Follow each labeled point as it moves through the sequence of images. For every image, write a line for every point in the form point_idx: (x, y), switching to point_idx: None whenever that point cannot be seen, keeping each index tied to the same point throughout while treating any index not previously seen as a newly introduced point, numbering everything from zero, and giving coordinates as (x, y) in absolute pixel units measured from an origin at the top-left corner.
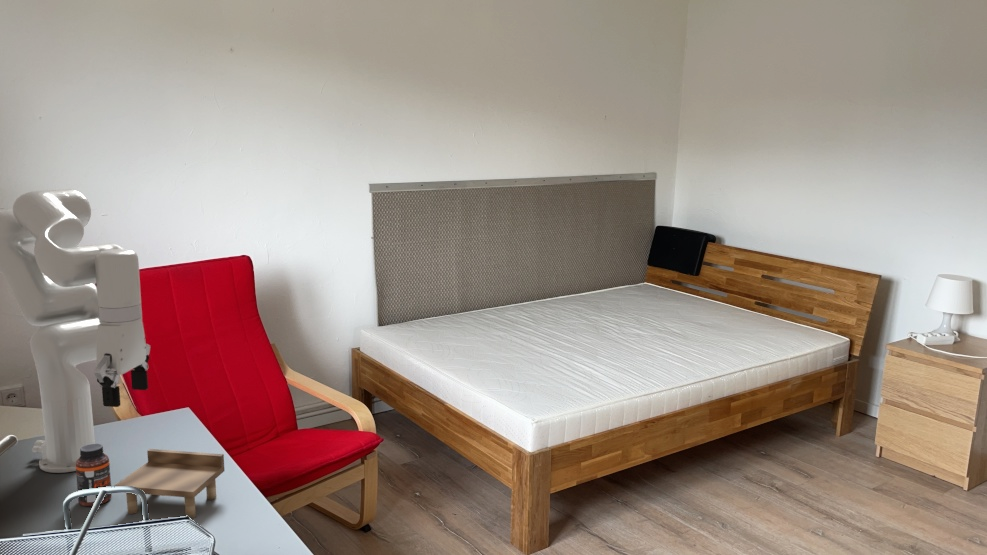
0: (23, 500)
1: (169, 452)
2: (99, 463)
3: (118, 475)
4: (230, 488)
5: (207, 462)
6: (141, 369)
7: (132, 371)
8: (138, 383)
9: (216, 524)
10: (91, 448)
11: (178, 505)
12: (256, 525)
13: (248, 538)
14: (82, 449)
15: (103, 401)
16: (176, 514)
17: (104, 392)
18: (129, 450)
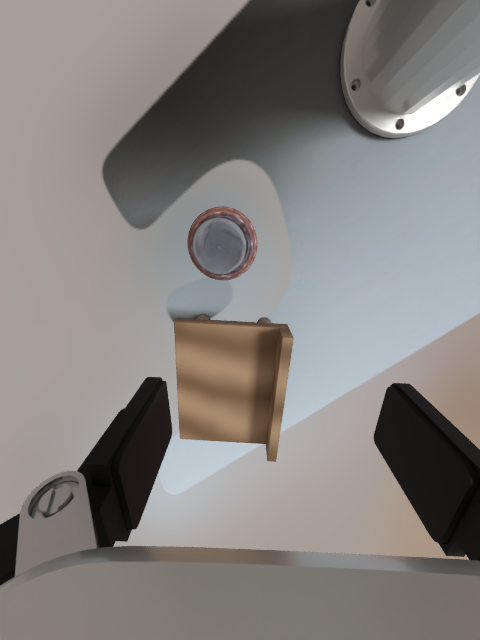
0: (210, 87)
1: (277, 381)
2: (206, 274)
3: (329, 222)
4: (286, 409)
5: (268, 430)
6: (468, 554)
7: (475, 484)
8: (398, 439)
9: None
10: (211, 252)
11: None
12: (198, 461)
13: (170, 462)
14: (200, 232)
15: (140, 389)
16: None
17: (90, 456)
18: (459, 170)
